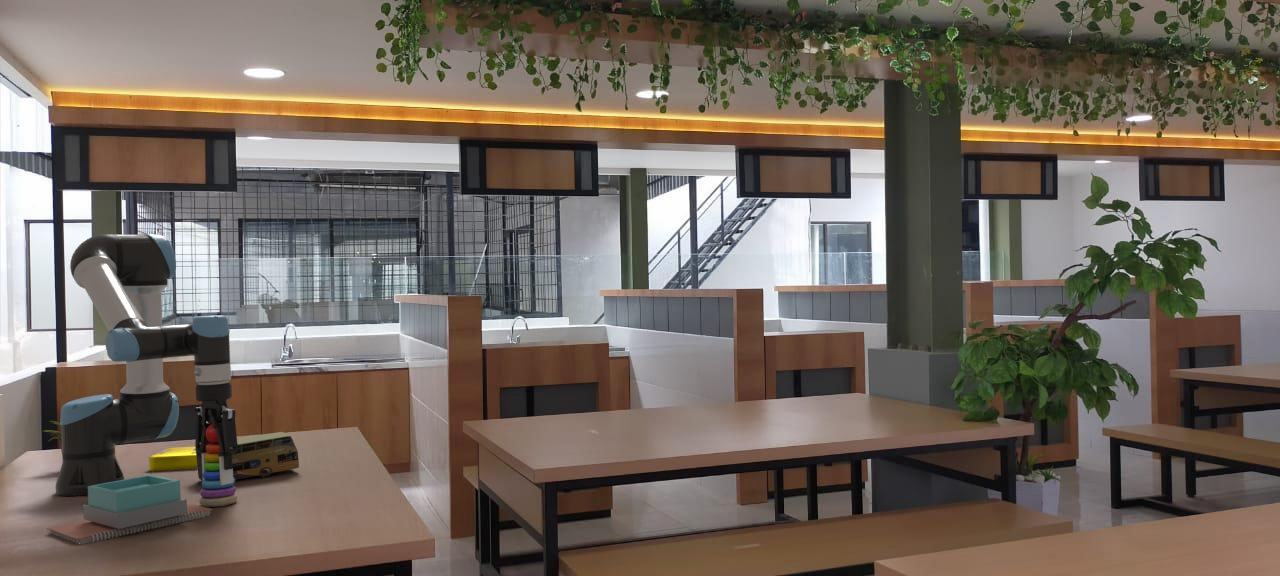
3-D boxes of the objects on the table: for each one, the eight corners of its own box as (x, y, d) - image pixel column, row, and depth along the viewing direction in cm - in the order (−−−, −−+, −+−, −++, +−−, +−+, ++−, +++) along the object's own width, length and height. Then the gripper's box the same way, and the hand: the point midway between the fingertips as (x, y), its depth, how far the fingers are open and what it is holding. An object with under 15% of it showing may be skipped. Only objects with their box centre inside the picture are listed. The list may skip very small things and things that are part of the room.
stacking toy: (223, 508, 214) (219, 425, 214) (192, 507, 216) (188, 425, 216) (244, 499, 222) (241, 420, 222) (214, 499, 224) (210, 420, 224)
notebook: (80, 548, 187) (79, 538, 187) (47, 536, 198) (46, 526, 198) (214, 517, 208) (214, 508, 208) (178, 508, 219) (178, 499, 219)
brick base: (83, 519, 201) (82, 486, 201) (150, 504, 212) (149, 473, 212) (118, 529, 191) (117, 494, 191) (187, 513, 202) (185, 480, 202)
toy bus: (300, 472, 252) (296, 434, 252) (205, 489, 239) (201, 450, 239) (290, 466, 260) (287, 430, 260) (198, 483, 247) (195, 445, 247)
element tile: (168, 462, 278) (167, 446, 278) (221, 459, 280) (220, 443, 280) (146, 472, 263) (146, 455, 263) (203, 469, 265) (202, 452, 265)
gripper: (175, 382, 222) (180, 481, 222) (220, 386, 210) (225, 489, 210) (206, 379, 228) (211, 474, 228) (252, 382, 216) (256, 483, 216)
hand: (217, 481), depth 219 cm, fingers closed on stacking toy, 7 cm apart
